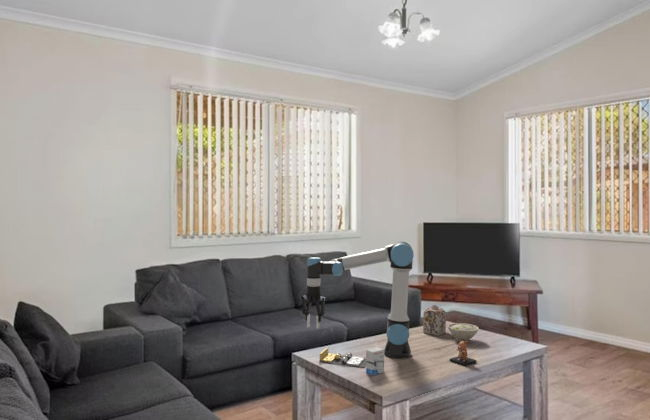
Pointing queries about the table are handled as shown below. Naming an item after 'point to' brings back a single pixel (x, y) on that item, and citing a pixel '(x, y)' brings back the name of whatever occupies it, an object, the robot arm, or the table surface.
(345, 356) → the grey two-tone fixture
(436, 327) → the decorative jar
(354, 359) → the fixed leaf
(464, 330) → the bowl
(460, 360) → the figurine
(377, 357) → the ink box
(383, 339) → the table surface
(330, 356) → the loose leaf
